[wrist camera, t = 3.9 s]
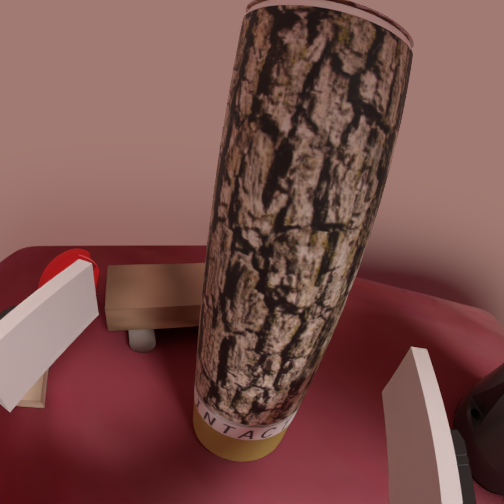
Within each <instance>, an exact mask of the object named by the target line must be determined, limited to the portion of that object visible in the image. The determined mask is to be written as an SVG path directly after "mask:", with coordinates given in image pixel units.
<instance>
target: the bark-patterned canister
mask: <svg viewBox="0 0 504 504" xmlns="http://www.w3.org/2000/svg"><path fill="white" fill-rule="evenodd" d="M246 12H247V13H246V15H245V16H244V18H243V22H242V27H241V32H240V37H239V42H238V48H237V52H236V58H235V63H234V68H233V73H232V79H231V85H230V90H229V96H228V102H227V108H226V114H225V120H224V126H223V133H222V139H221V145H220V153H219V159H218V166H217V173H216V180H215V188H214V194H213V202H212V210H211V218H210V226H209V234H208V242H207V251H206V260H205V269H204V279H203V289H202V299H201V310H200V321H199V332H198V345H197V358H196V372H195V387H194V411H193V425H194V430H195V433H196V435H197V437H198V439H199V441H200V442H201V443H202V444H203V445H204V447H205V448H207V449H208V450H209V451H210V452H212V453H213V454H215V455H217V456H219V457H221V458H224V459H227V460H231V461H240V462H244V461H253V460H257V459H260V458H262V457H264V456H266V455H268V454H269V453H270V452H272V451H273V450H274V449H275V448H276V447H277V446H278V444H279V443H280V441H281V439H282V438H283V436H284V434H285V432H286V430H287V428H288V426H289V425H290V423H291V421H292V420H293V418H294V416H295V414H296V412H297V410H298V408H299V406H300V404H301V402H302V400H303V398H304V396H305V394H306V392H307V390H308V388H309V386H310V384H311V382H312V380H313V377H314V375H315V373H316V371H317V369H318V367H319V365H320V362H321V360H322V358H323V356H324V353H325V351H326V349H327V347H328V344H329V342H330V340H331V337H332V335H333V333H334V330H335V328H336V326H337V323H338V321H339V318H340V316H341V313H342V311H343V308H344V306H345V303H346V301H347V298H348V296H349V293H350V290H351V288H352V285H353V282H354V280H355V277H356V274H357V271H358V269H359V266H360V263H361V260H362V257H363V255H364V252H365V249H366V246H367V243H368V239H369V237H370V234H371V231H372V227H373V224H374V221H375V218H376V215H377V211H378V208H379V205H380V201H381V198H382V195H383V191H384V187H385V184H386V180H387V177H388V173H389V169H390V165H391V161H392V157H393V153H394V149H395V145H396V141H397V136H398V132H399V128H400V123H401V119H402V113H403V109H404V103H405V99H406V93H407V88H408V82H409V76H410V70H411V64H412V57H413V53H412V48H413V40H412V38H411V36H410V35H409V33H408V32H407V31H406V30H405V29H404V28H403V27H401V26H400V25H399V24H398V23H396V22H395V21H393V20H392V19H390V18H388V17H387V16H385V15H383V14H381V13H379V12H377V11H375V10H373V9H370V8H368V7H366V6H363V5H360V4H357V3H354V2H351V1H348V0H254V1H252V2H251V3H249V4H248V6H247V8H246Z"/></svg>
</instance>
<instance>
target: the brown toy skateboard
mask: <svg viewBox="0 0 504 504" xmlns="http://www.w3.org/2000/svg"><path fill="white" fill-rule="evenodd" d="M204 269H205V263H182V264H142V265H108V270H107V282H106V297H105V314H106V321H107V327H108V331H119V330H129V344H130V347H131V348H132V349H133V350H134V351H136V352H141V353H144V352H149V351H151V350H152V349H153V348H154V347H155V345H156V339H155V333H154V329H162V328H177V327H191V326H199V321H200V310H201V299H202V289H203V279H204Z"/></svg>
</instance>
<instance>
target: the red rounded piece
mask: <svg viewBox="0 0 504 504" xmlns="http://www.w3.org/2000/svg"><path fill="white" fill-rule="evenodd" d="M90 258H91V255H90V253H89V252H88V251H86V250H84V249H78V248H77V249H71V250H68V251H65V252H63V253H61V254H60V255H58V256H57V257H55V258H54V259H53V260H52V261H51V262H50V263H49V264H48V266H47V267H46V268H45V270H44V271H43V273H42V275H41V278H40V281H39V286H38V289H39V288H41V287H42V286H43V285H45V284H46V283H47V282H48V281H50V280H51V279H52V278H54V277H55V276H56V275H58V274H59V273H60V272H62V271H63V270H65V269H66V268H67V267H69V266H70V265H71V264H73V263H74V262H76V261H77V260H78V259H81V260H84V261H87V262H90V263H92V266H93V275H94V284H95V291H96V288H97V285H98V281H99V274H100V270H99V268H98V267H97V265H96V263H95V262H94V261H93V260H91V259H90Z"/></svg>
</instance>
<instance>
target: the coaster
mask: <svg viewBox="0 0 504 504" xmlns="http://www.w3.org/2000/svg"><path fill="white" fill-rule="evenodd" d="M48 370H49V368H48V369H47V370H46V371H45V373H44V374H43V375H42V376H41V377H40V378H39V379H38V380H37V382H36V383H35V384H34V385H33V386H32V387H31V388H30V390H29V391H28V392H27V393H26V394H25V395H24V397H23V398H22V399H21V400H20V401H19V402H18V404H17V405H16V406H23V407H35V408H45V397H46V387H47V378H48Z"/></svg>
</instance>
